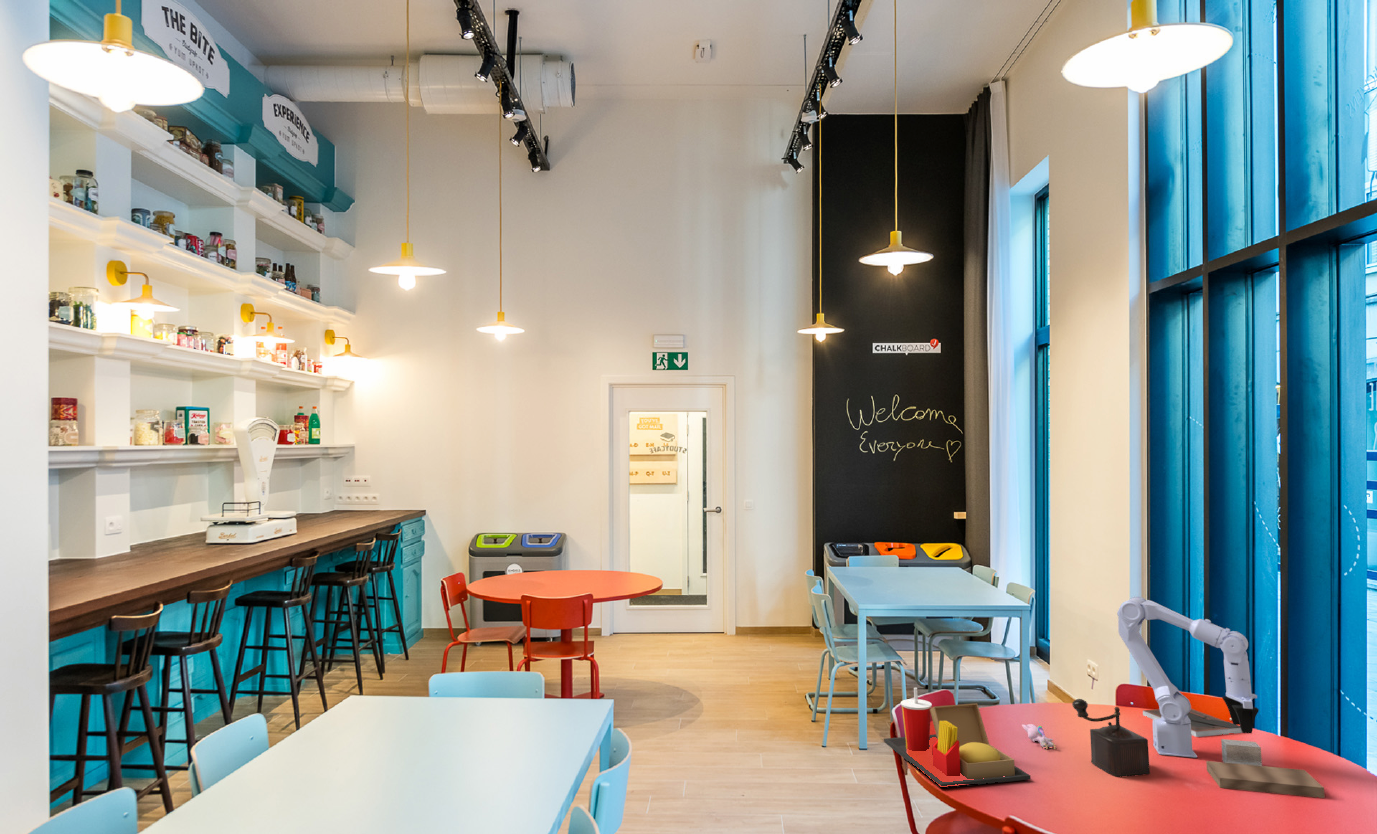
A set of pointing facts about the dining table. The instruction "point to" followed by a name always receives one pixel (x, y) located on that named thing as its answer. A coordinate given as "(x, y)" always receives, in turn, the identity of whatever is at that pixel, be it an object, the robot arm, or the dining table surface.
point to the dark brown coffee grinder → (1116, 746)
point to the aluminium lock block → (1241, 752)
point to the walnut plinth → (1264, 779)
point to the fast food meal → (954, 743)
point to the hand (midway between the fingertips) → (1242, 728)
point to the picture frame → (1202, 723)
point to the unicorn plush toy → (1038, 735)
